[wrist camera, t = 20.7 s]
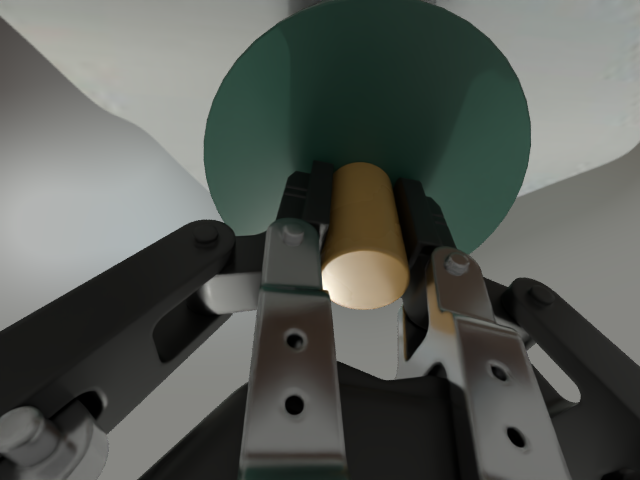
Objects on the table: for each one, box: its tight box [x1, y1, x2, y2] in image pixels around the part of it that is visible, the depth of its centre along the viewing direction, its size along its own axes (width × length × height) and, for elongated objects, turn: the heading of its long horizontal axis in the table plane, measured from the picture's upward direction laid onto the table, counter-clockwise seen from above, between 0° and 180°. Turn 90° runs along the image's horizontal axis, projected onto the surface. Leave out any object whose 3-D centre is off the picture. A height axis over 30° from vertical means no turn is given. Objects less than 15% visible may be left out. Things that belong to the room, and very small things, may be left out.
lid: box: [204, 0, 531, 310], centre depth 10 cm, size 11×11×6 cm
